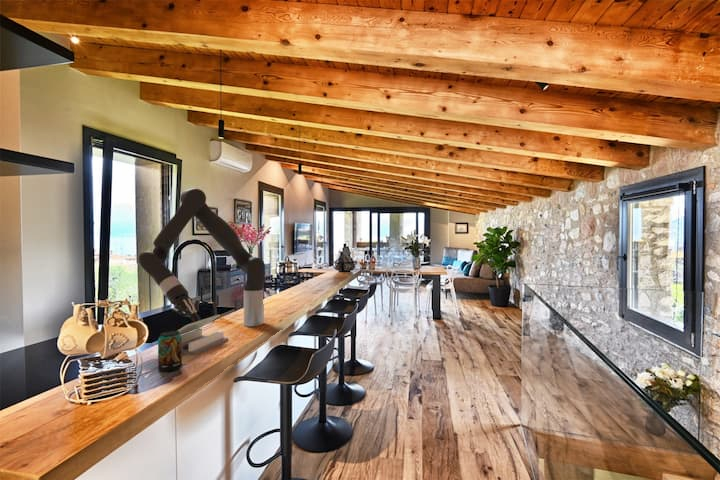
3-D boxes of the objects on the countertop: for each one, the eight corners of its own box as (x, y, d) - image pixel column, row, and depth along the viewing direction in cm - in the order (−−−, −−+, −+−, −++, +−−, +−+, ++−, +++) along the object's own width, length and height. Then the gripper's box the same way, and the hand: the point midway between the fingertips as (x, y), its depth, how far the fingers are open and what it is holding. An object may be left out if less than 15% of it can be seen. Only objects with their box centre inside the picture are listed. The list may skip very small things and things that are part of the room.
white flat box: (196, 337, 164) (196, 327, 164) (228, 340, 159) (228, 330, 159) (159, 351, 144) (159, 340, 144) (194, 355, 140) (194, 344, 140)
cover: (199, 328, 163) (198, 326, 163) (220, 315, 159) (219, 314, 160) (165, 340, 144) (164, 338, 144) (187, 326, 141) (186, 324, 141)
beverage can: (166, 374, 121) (166, 337, 121) (153, 370, 125) (153, 333, 125) (186, 367, 127) (186, 332, 127) (173, 363, 131) (173, 329, 131)
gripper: (166, 285, 147) (192, 319, 144) (190, 281, 160) (215, 312, 157) (155, 298, 149) (180, 332, 146) (180, 293, 162) (204, 324, 158)
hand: (198, 322), depth 151 cm, fingers closed
